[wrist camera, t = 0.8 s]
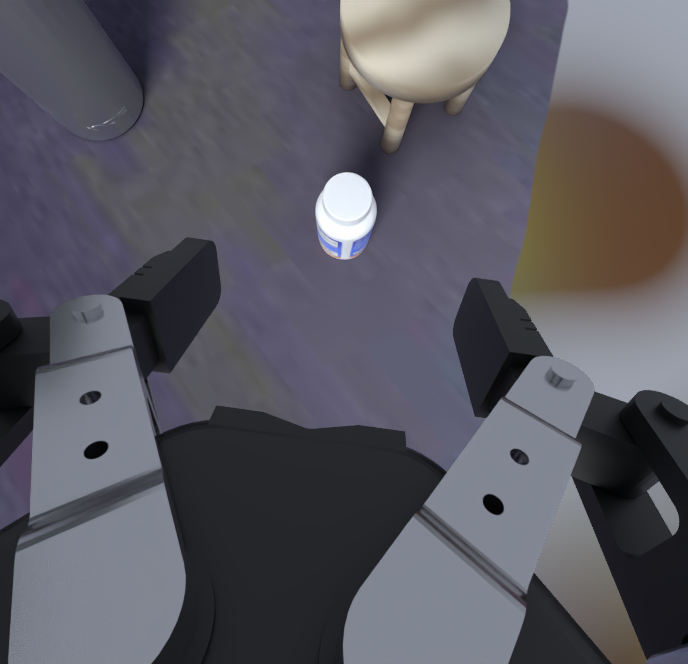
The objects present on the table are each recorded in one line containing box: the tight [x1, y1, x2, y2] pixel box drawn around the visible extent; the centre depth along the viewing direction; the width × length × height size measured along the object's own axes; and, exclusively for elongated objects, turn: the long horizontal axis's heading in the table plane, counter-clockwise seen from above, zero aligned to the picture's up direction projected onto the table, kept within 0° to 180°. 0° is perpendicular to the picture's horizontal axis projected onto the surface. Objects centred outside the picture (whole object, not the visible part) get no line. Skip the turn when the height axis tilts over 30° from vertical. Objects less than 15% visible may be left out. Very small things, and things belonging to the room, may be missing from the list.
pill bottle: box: [316, 172, 377, 259], centre depth 32 cm, size 5×5×10 cm
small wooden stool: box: [339, 0, 510, 154], centre depth 33 cm, size 14×14×10 cm
